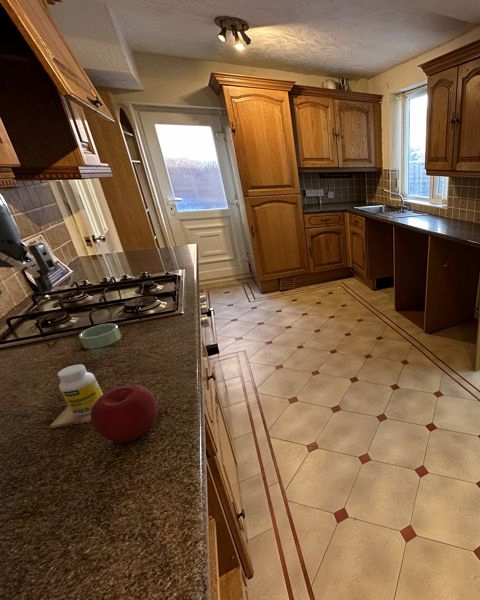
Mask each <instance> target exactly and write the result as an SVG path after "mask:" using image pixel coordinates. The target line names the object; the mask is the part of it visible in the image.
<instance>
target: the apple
mask: <svg viewBox="0 0 480 600" xmlns="http://www.w3.org/2000/svg"><path fill="white" fill-rule="evenodd" d="M157 413H158V403H157V400H156V398H155V395H154V393H153V392H152V391H150V389H149V388H146V387H144V386H142V385H138V384H126V385H120V386H117V387H113V388H111V389H109V390H108V391H106V392H104V393H103V395H102V396H101V397H100V398H99V399H98V400H97V401H96V402H95V404H94V405H93V408H92V411H91V422H90V423H91V424H92V426H93V428H94V429H95V430H96V431H97V433H98V434H100V435H101V436H102V437H104V438H105V439H107V440H109V441H111V442H115V443H129V442H131V441H135V440H137V439H139V438H141V437H142V436H144V435H145V434H146V433H148V432H149V431H150V430H151V428H152V427H153V426H154V424H155V422H156V419H157V415H158V414H157ZM143 434H144V435H143ZM140 436H141V437H140ZM138 437H139V438H138ZM136 438H137V439H136ZM134 439H135V440H134ZM128 441H129V442H128Z"/></svg>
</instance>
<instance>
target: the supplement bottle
mask: <svg viewBox="0 0 480 600" xmlns="http://www.w3.org/2000/svg"><path fill="white" fill-rule="evenodd" d="M57 378H58V379H59V381H60V382H59V384H58V388H59V390H60V393H61V394H62V397H63V398H64V401H65V402H66V403H67V407H68V406H69V407H70V409H71V411H72V412H73V414H75V415H85V414H88V413H91V411H92V408H93V405H94V404H95V402H96V401H97V400H98V399H99V398H100V397H101V396H102V395H103V394H104V393H103V390H102V389H101V387H100V385H99V383H98V381H97V379H96V376H95V375H94V374H93V373H92V372H89V371H87V369H86V366H85V365H84V364H73V365H70V366H67V367H64V368H62V369H61V370H59V371H58V372H57Z"/></svg>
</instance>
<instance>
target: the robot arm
mask: <svg viewBox="0 0 480 600" xmlns="http://www.w3.org/2000/svg"><path fill="white" fill-rule="evenodd" d="M28 253H29V254H28ZM1 268H6V269H10V268H13V269H14V268H16V269H18V270H20V271H22V272H26V273H27V274H29V275H30V276H32V278H33V280H34V283H35V285H36V288H37V289H38V291H39V294H41V295H45V294H48V293H50V292H52V290H53V289H54V285H53V283H52V281H51V279H50V276H49V274H50V273H53V272H55V271H56V270H57V269H58V266H57V265H56V263H55V261H54V259H53V257H52V255H51V253H50V251H49V249H48V248H47V246H46V244H45V243H44V242H37V243H35V244H25V243H24V242H23V240H22V234H21V231H20V229H19V227H18V225H17V223H16V220H15V218H14V217H13V215H12V213H11V211H10V208H9V206H8V204H7V202H6V200H5V199H4V197H3V195H1V193H0V269H1ZM2 294H3V292H2V290H1V289H0V296H1V295H2Z"/></svg>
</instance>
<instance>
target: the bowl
mask: <svg viewBox="0 0 480 600" xmlns="http://www.w3.org/2000/svg"><path fill="white" fill-rule="evenodd" d="M78 337H79V340H80V342H81V343H82V346H83V348H84V349H86V350H85V352H86V353H87V354H92V355H94V354H103V353H106V352H109V351H111V350H114V349H116V348H118V347H119V345H116V346H110V345H112V344H114V343H116V342H118V341H120V339H121V338H122V337H123V336H122V334H121V332H120V329H119V327H118V324H117V323H102V324H98V325H95V326H92V327H89V328H87V329H85V330H83V331H82V332H80V333H79V334H78ZM106 346H107V347H106Z"/></svg>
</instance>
